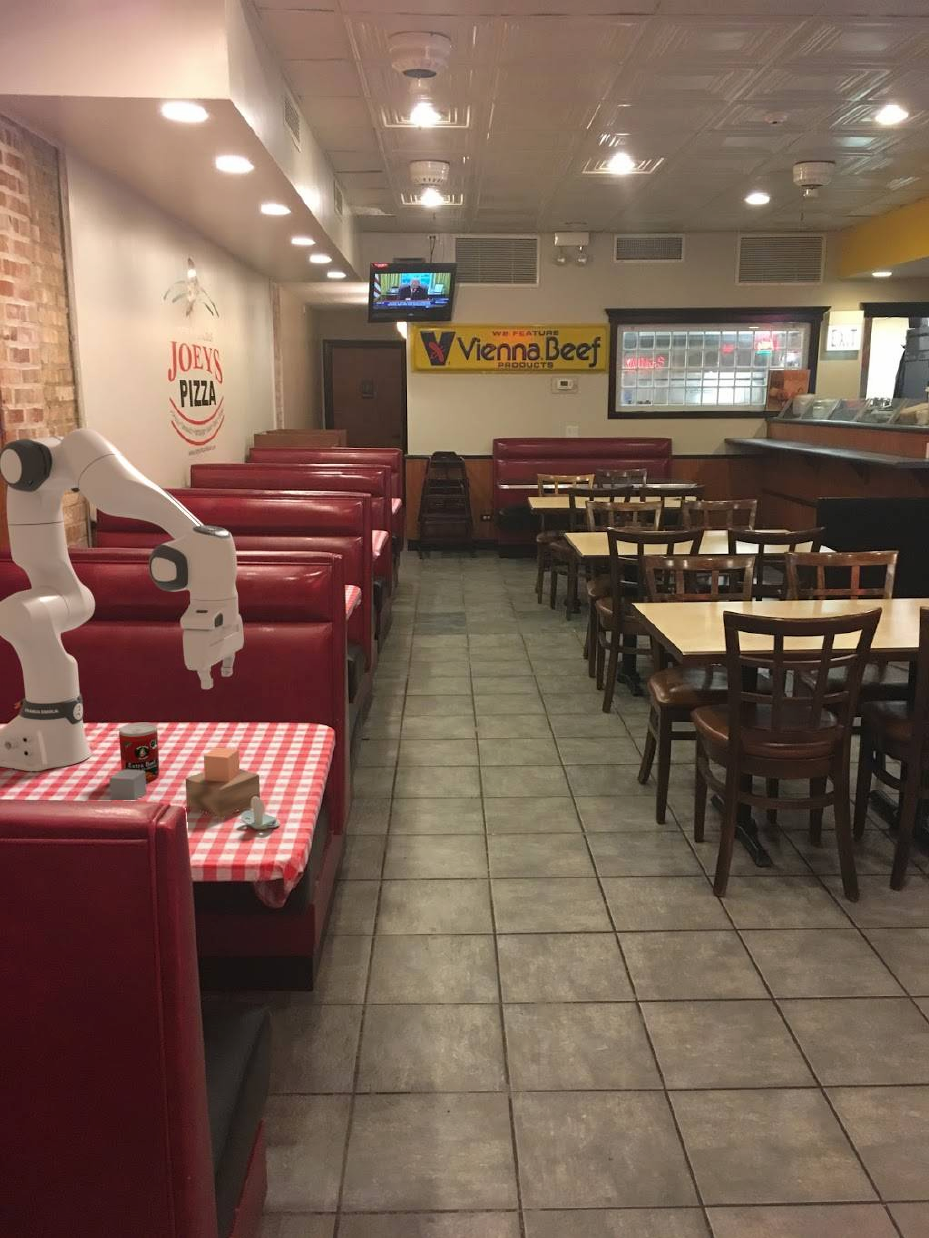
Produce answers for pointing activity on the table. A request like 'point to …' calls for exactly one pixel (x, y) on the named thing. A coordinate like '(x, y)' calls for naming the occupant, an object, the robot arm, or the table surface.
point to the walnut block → (222, 793)
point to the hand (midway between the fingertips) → (217, 681)
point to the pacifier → (259, 816)
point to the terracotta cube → (221, 764)
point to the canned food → (140, 748)
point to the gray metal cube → (128, 785)
